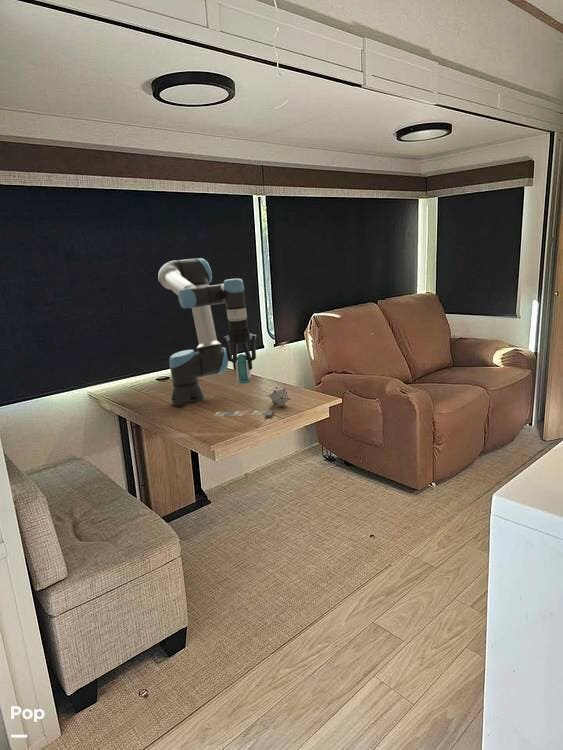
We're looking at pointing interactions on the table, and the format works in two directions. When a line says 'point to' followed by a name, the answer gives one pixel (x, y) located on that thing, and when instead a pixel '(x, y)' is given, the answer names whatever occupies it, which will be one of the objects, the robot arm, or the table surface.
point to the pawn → (242, 369)
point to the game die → (279, 397)
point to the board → (246, 413)
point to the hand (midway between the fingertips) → (244, 377)
